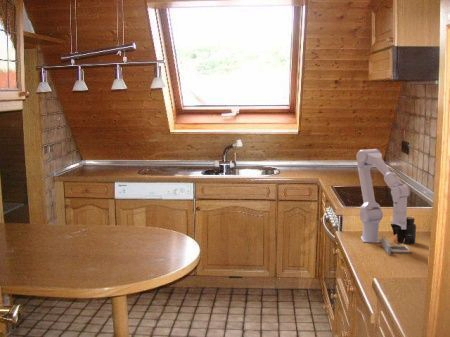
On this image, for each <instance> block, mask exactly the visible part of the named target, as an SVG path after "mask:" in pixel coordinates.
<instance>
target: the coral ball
mask: <svg viewBox="0 0 450 337" xmlns="http://www.w3.org/2000/svg"><path fill="white" fill-rule="evenodd" d="M392 241H393V242H394V244H395V245H404V242H403V243H398V240H397V234H395V235H394V234H393V238H392ZM404 241H405V238H404Z"/></svg>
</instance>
